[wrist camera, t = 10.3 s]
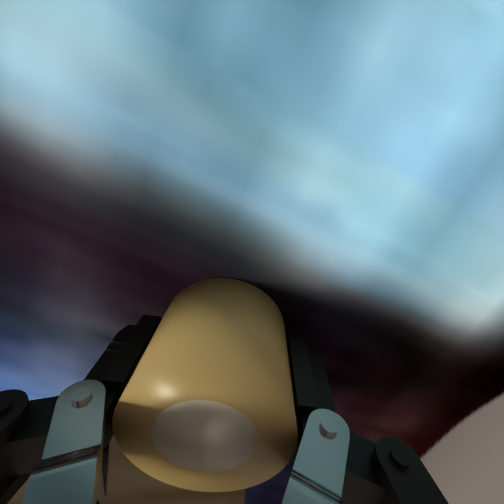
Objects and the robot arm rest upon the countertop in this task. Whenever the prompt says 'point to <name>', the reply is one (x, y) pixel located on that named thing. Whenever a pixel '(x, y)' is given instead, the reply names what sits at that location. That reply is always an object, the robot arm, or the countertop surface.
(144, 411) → the tan rounded piece
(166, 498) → the crate
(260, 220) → the countertop surface
